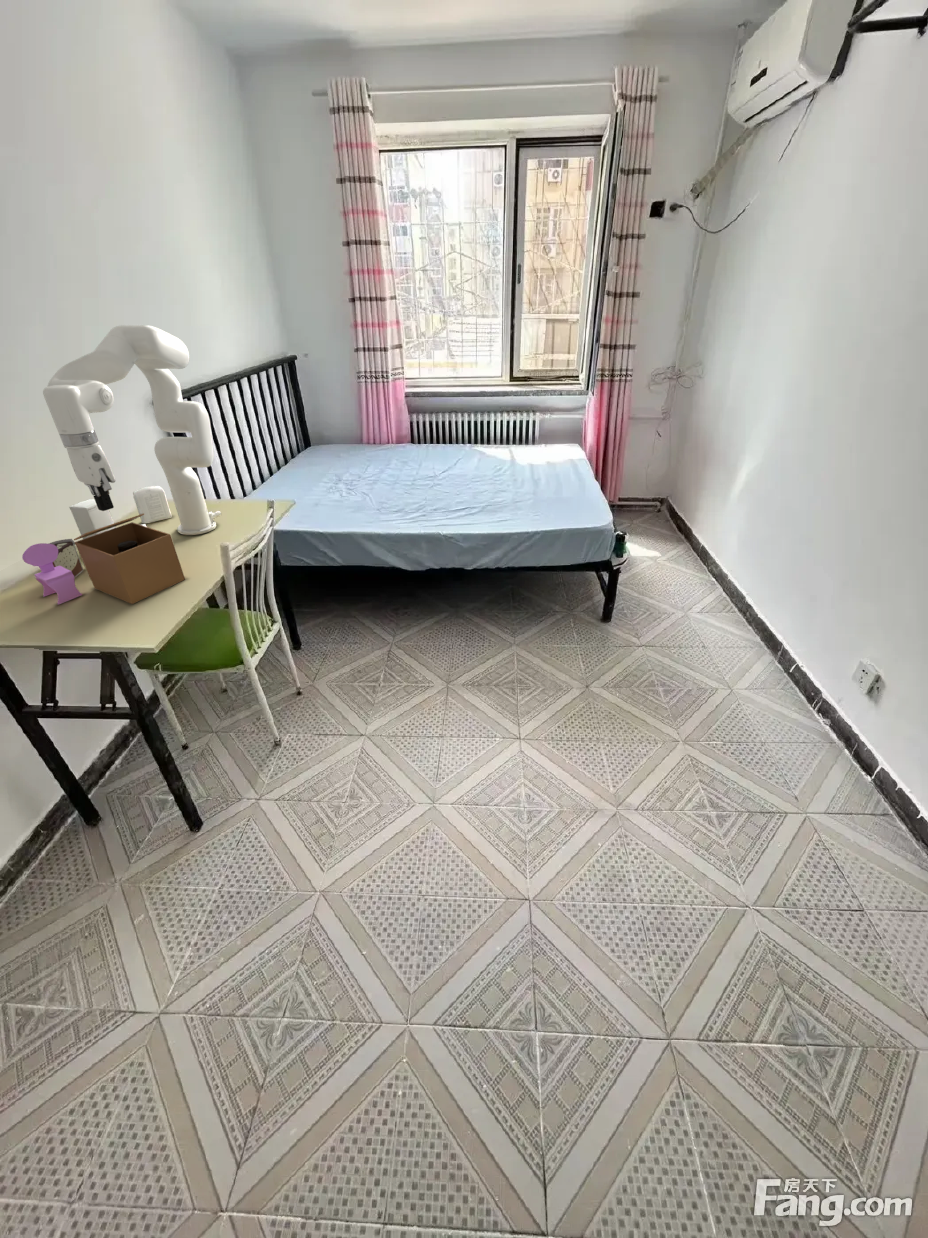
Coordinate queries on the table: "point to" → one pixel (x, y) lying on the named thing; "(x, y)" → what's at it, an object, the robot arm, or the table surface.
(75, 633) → the table surface
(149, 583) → the carton
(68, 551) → the food container
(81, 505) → the cosmetic box
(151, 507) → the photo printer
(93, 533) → the carton flap
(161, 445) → the robot arm
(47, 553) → the toy chair
